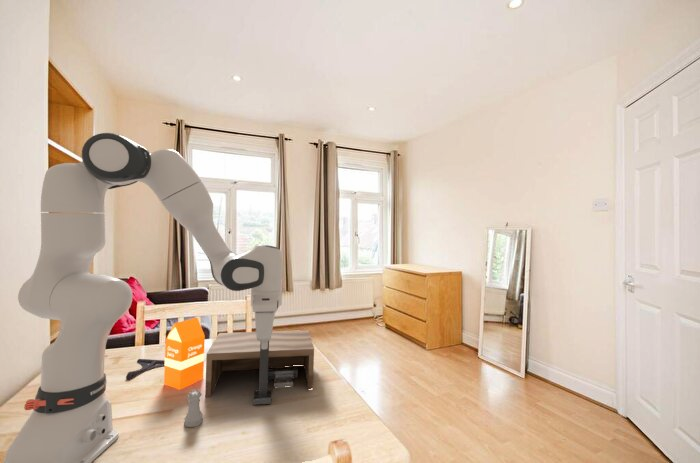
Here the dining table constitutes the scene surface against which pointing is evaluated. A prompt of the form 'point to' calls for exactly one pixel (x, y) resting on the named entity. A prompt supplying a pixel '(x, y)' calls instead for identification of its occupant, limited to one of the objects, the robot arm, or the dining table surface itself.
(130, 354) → the dining table surface
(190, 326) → the orange juice
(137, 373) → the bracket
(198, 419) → the rook chess piece
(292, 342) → the low cabinet
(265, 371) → the hook tool
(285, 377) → the block
